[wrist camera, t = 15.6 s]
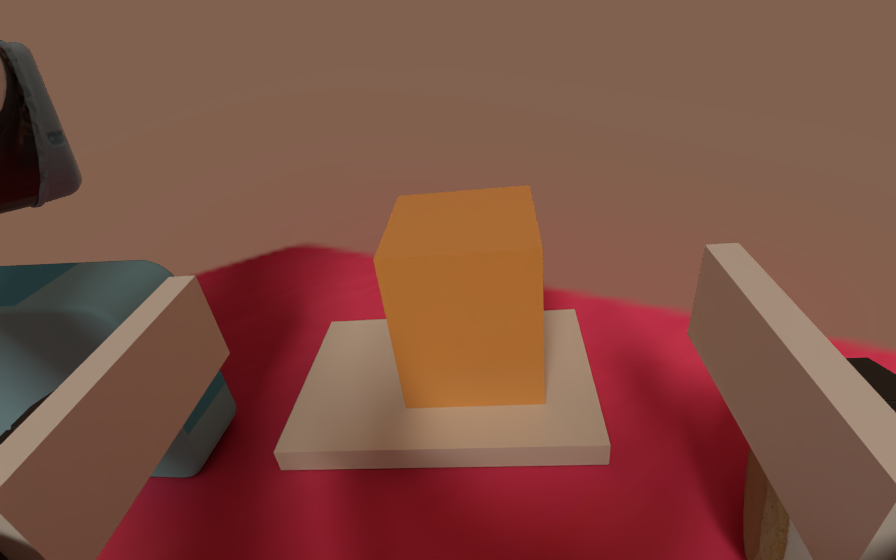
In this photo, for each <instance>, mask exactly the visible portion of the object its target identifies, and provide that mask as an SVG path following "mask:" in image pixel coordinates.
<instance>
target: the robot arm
mask: <svg viewBox="0 0 896 560" xmlns="http://www.w3.org/2000/svg"><path fill="white" fill-rule="evenodd" d="M81 181H82V177H81V174H80V171H79V169H78V165H77V163H76V160H75V158H74V155H73V153H72V151H71V148H70V145H69V143H68V141H67V138H66V136H65V133H64V131H63V128H62V126H61V123H60V121H59V119H58V116H57V113H56V111H55V109H54V106H53V104H52V101H51V99H50V96H49V94H48V92H47V89H46V87H45V85H44V82H43V79H42V77H41V75H40V72H39V70H38V68H37V65H36V63H35V60H34V58H33V55H32V54H31V52H30V50H29V49H28V48H27V47H26V46H24V45H23V44H21V43H16V42H12V43H11V42H4V41H2V40H0V214H1V213H5V212H9V211H13V210H17V209H21V208H25V207H29V206H31V207H40V206H42V205H43V204H44V203H45V202H48V201H52V200H55V199H58V198H61V197H65V196H68V195H71V194H73V193H74V192H76V191H77V190H78V189H79V187H80V185H81ZM687 334H688V336H689V338H690V340H691V342H692V343H693V345H694V347H695V349H696V351H697V352H698V354H699V356H700V358H701V359H702V361H703V363H704V365H705V367H706V368H707V370H708V372H709V374H710V376H711V377H712V379H713V381H714V383H715V385H716V386H717V388H718V390H719V392H720V394H721V395H722V397H723V399H724V401H725V402H726V404H727V406H728V408H729V410H730V411H731V413H732V415H733V417H734V419H735V420H736V422H737V424H738V426H739V428H740V429H741V431H742V433H743V435H744V437H745V438H746V440H747V442H748V444H749V445H750V447H751V449H752V451H753V453H754V454H755V456H756V458H757V460H758V462H759V463H760V465H761V467H762V469H763V471H764V472H765V474H766V476H767V478H768V479H769V481H770V483H771V485H772V487H773V488H774V490H775V492H776V494H777V496H778V497H779V499H780V501H781V503H782V505H783V506H784V508H785V510H786V512H787V514H788V515H789V517H790V519H791V521H792V522H793V524H794V526H795V528H796V530H797V531H798V533H799V535H800V537H801V539H802V540H803V542H804V544H805V546H806V548H807V549H808V551H809V553H810V555H811V557H812V558H813V560H896V374H894V373H892V372H891V371H889V370H887V369H886V368H884V367H882V366H881V365H879V364H877V363H876V362H874V361H872V360H871V359H869V358H845V357H844V356H843V355H842V354H841V353H840V352H839V351H838V350H837V349H836V348H835V347H834V345H833V344H832V343H831V342H830V341H829V340H828V339H827V338H826V337H825V336H824V335H823V334H822V333H821V331H820V330H819V329H818V328H817V327H816V326H815V325H814V324H813V323H812V322H811V321H810V320H809V318H808V317H807V316H806V315H805V314H804V313H803V312H802V311H801V310H800V309H799V308H798V307H797V306H796V305H795V303H794V302H793V301H792V300H791V299H790V298H789V297H788V296H787V295H786V294H785V293H784V292H783V290H782V289H781V288H780V287H779V286H778V285H777V284H776V283H775V282H774V281H773V280H772V279H771V278H770V276H769V275H768V274H767V273H766V272H765V271H764V270H763V269H762V268H761V267H760V266H759V265H758V264H757V262H756V261H755V260H754V259H753V258H752V257H751V256H750V255H749V254H748V253H747V252H746V251H745V250H744V248H743V247H742V246H741V245H740V244H739V243H728V244H711V245H705V248H704V253H703V258H702V263H701V268H700V273H699V278H698V283H697V288H696V293H695V298H694V303H693V308H692V313H691V318H690V323H689V328H688V333H687ZM229 354H230V352H229V350H228V348H227V345H226V343H225V341H224V339H223V336H222V334H221V332H220V330H219V327H218V325H217V323H216V321H215V318H214V316H213V314H212V312H211V309H210V307H209V305H208V302H207V300H206V298H205V296H204V293H203V291H202V289H201V287H200V284H199V282H198V280H197V278H196V275H193V276H176V277H168V278H167V279H166V280H165V281H164V282H163V283H162V284H161V285H160V286H159V287H158V288H157V289H156V290H155V291H154V292H153V293H152V294H151V295H150V296H149V297H148V298H147V299H146V300H145V301H144V302H143V303H142V304H141V305H140V306H139V307H138V308H137V309H136V310H135V311H134V312H133V313H132V314H131V315H130V316H129V317H128V318H127V319H126V320H125V321H124V322H123V323H122V324H121V325H120V326H119V327H118V328H117V329H116V330H115V331H114V332H113V333H112V334H111V335H110V336H109V337H108V338H107V339H106V340H105V341H104V342H103V343H102V344H101V345H100V346H99V347H98V348H97V349H96V350H95V351H94V352H93V353H92V354H91V355H90V356H89V357H88V358H87V359H86V360H85V361H84V362H83V363H82V364H81V365H80V366H79V367H78V368H77V369H76V370H75V371H74V372H73V373H72V374H71V375H70V376H69V377H68V378H67V379H66V380H65V381H64V382H63V383H62V384H61V385H60V386H59V387H58V388H57V389H55V390H54V391H52V392H51V393H49V394H48V395H46V396H45V397H43V398H42V399H40V400H39V401H37V402H36V403H35V404H33V405H32V406H30V407H29V408H28V409H27V410H26V411H25V412H24V413H23V414H22V415H21V416H20V417H19V418H18V419H17V420H16V421H15V422H14V423H13V424H12V425H11V429H10V430H6V431H5V432H4V433H3V434H2V435H1V436H0V560H96V559H97V557H98V556H99V554H100V553H101V551H102V550H103V548H104V547H105V545H106V544H107V542H108V540H109V539H110V537H111V536H112V534H113V533H114V531H115V530H116V528H117V527H118V525H119V524H120V522H121V520H122V519H123V517H124V516H125V514H126V513H127V511H128V510H129V508H130V507H131V505H132V504H133V502H134V500H135V499H136V497H137V496H138V494H139V493H140V491H141V490H142V488H143V487H144V485H145V483H146V482H147V480H148V479H149V477H150V476H151V474H152V473H153V471H154V470H155V468H156V467H157V465H158V463H159V462H160V460H161V459H162V457H163V456H164V454H165V453H166V451H167V450H168V448H169V446H170V445H171V443H172V442H173V440H174V439H175V437H176V436H177V434H178V433H179V431H180V430H181V428H182V426H183V425H184V423H185V422H186V420H187V419H188V417H189V416H190V414H191V413H192V411H193V410H194V408H195V406H196V405H197V403H198V402H199V400H200V399H201V397H202V396H203V394H204V393H205V391H206V389H207V388H208V386H209V385H210V383H211V382H212V380H213V379H214V377H215V376H216V374H217V373H218V371H219V369H220V368H221V366H222V365H223V363H224V362H225V360H226V359H227V357H228V356H229Z"/></svg>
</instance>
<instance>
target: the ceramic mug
mask: <svg viewBox="0 0 896 560" xmlns="http://www.w3.org/2000/svg"><path fill="white" fill-rule="evenodd" d="M743 537H744V549H745V555H746V559H747V560H813V558H812V557H811V555H810V553H809V551H808V549H807V548H806V546H805V544H804V542H803V540H802V539H801V537H800V535H799V533H798V531H797V530H796V528H795V526H794V524H793V522H792V521H791V519H790V517H789V515H788V514H787V512H786V510H785V508H784V506H783V505H782V503H781V501H780V499H779V497H778V496H777V494H776V492H775V490H774V488H773V487H772V485H771V483H770V481H769V479H768V478H767V476H766V474H765V472H764V471H763V469H762V467H761V465H760V463H759V462H758V460H757V458H756V456H755V454H754V453H753V451H752V449H751V447H750V448H749V454H748V462H747V470H746V480H745V493H744V510H743Z"/></svg>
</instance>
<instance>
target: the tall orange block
mask: <svg viewBox="0 0 896 560" xmlns="http://www.w3.org/2000/svg"><path fill="white" fill-rule="evenodd" d="M373 260H374V265H375V269H376V274H377V279H378V283H379V288H380V292H381V297H382V301H383V306H384V311H385V315H386V320H387V324H388V329H389V333H390V338H391V342H392V347H393V352H394V356H395V361H396V365H397V370H398V374H399V379H400V384H401V388H402V393H403V397H404V402H405V406H406V408H437V407H469V406H501V405H533V404H545V378H544V307H543V247H542V243H541V238H540V233H539V228H538V224H537V218H536V213H535V208H534V204H533V199H532V194H531V189H530V186H529V185H526V186H514V187H502V188H490V189H477V190H465V191H453V192H441V193H428V194H417V195H404V196H398V199H397V201H396V204H395V206H394V209H393V211H392V214H391V216H390V219H389V221H388V224H387V226H386V229H385V231H384V234H383V236H382V239H381V241H380V244H379V246H378V249H377V251H376V254H375V257H374V259H373Z"/></svg>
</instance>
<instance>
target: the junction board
mask: <svg viewBox="0 0 896 560" xmlns="http://www.w3.org/2000/svg"><path fill="white" fill-rule="evenodd" d="M544 378H545V404H533V405H501V406H469V407H437V408H406V406H405V402H404V397H403V393H402V388H401V384H400V379H399V374H398V370H397V365H396V361H395V356H394V352H393V347H392V342H391V338H390V333H389V329H388V324H387V320H386V319H378V320H359V321H341V322H331V325H330V327H329V329H328V331H327V333H326V336H325V338H324V340H323V342H322V345H321V347H320V349H319V351H318V354H317V356H316V358H315V360H314V363H313V365H312V367H311V369H310V372H309V374H308V376H307V378H306V381H305V383H304V385H303V387H302V390H301V392H300V394H299V396H298V398H297V401H296V403H295V405H294V407H293V410H292V412H291V414H290V416H289V419H288V421H287V423H286V425H285V428H284V430H283V432H282V434H281V437H280V439H279V441H278V443H277V446H276V448H275V450H274V452H273V453H274V455H275V457H276V460H277V462H278V464H279V466H280V469H281V470H325V469H383V468H441V467H499V466H557V465H609V458H610V447H611V445H610V441H609V437H608V433H607V430H606V426H605V422H604V418H603V415H602V411H601V407H600V403H599V399H598V396H597V392H596V388H595V384H594V381H593V377H592V373H591V369H590V365H589V362H588V358H587V354H586V350H585V347H584V343H583V339H582V335H581V332H580V328H579V324H578V320H577V316H576V313H575V309H567V310H548V311H544Z"/></svg>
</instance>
